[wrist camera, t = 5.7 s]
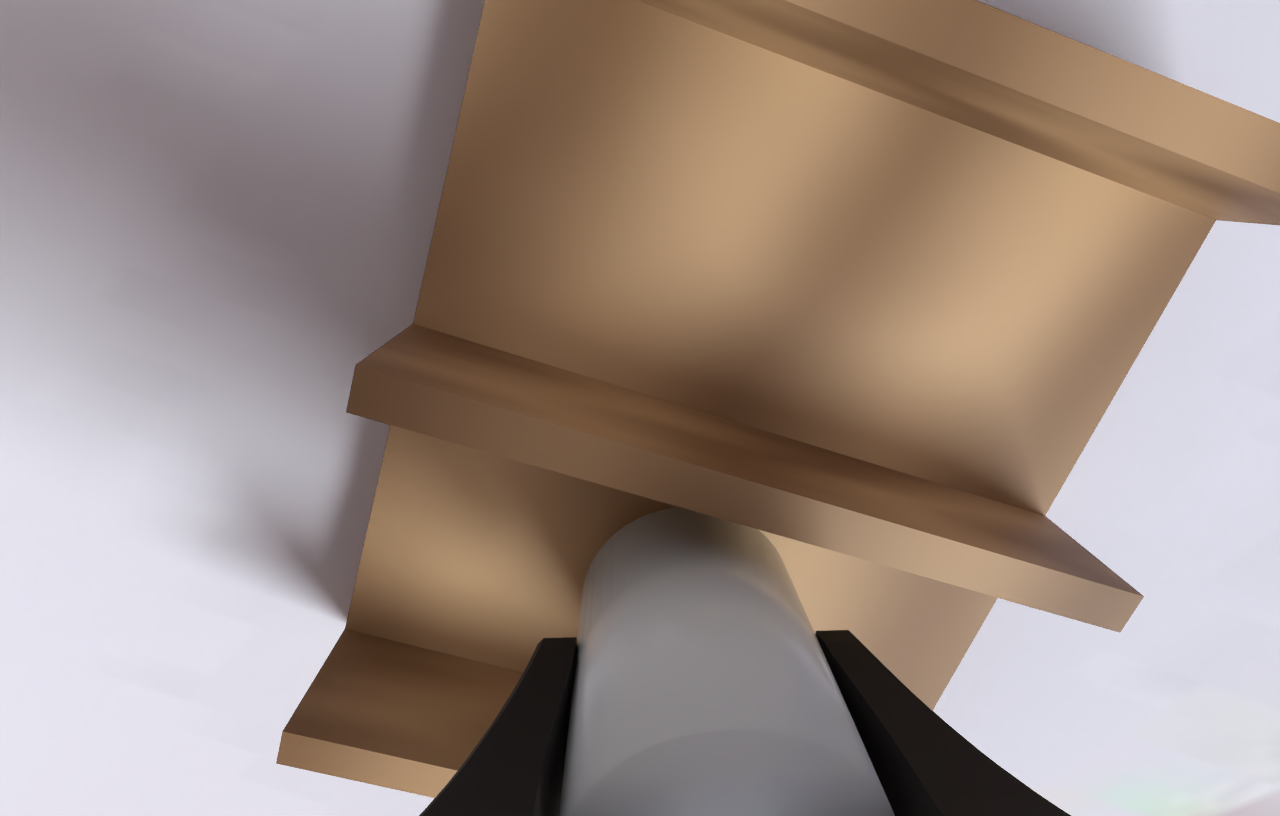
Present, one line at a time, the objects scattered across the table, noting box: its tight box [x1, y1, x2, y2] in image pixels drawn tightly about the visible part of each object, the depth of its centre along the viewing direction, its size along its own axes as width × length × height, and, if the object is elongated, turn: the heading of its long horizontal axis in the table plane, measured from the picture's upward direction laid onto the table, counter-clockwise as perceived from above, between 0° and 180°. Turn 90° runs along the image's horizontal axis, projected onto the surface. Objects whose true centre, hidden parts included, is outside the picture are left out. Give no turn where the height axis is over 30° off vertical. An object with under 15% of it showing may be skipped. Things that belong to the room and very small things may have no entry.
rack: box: [276, 0, 1280, 798], centre depth 13 cm, size 14×16×4 cm
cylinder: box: [559, 507, 895, 816], centre depth 11 cm, size 4×4×6 cm
